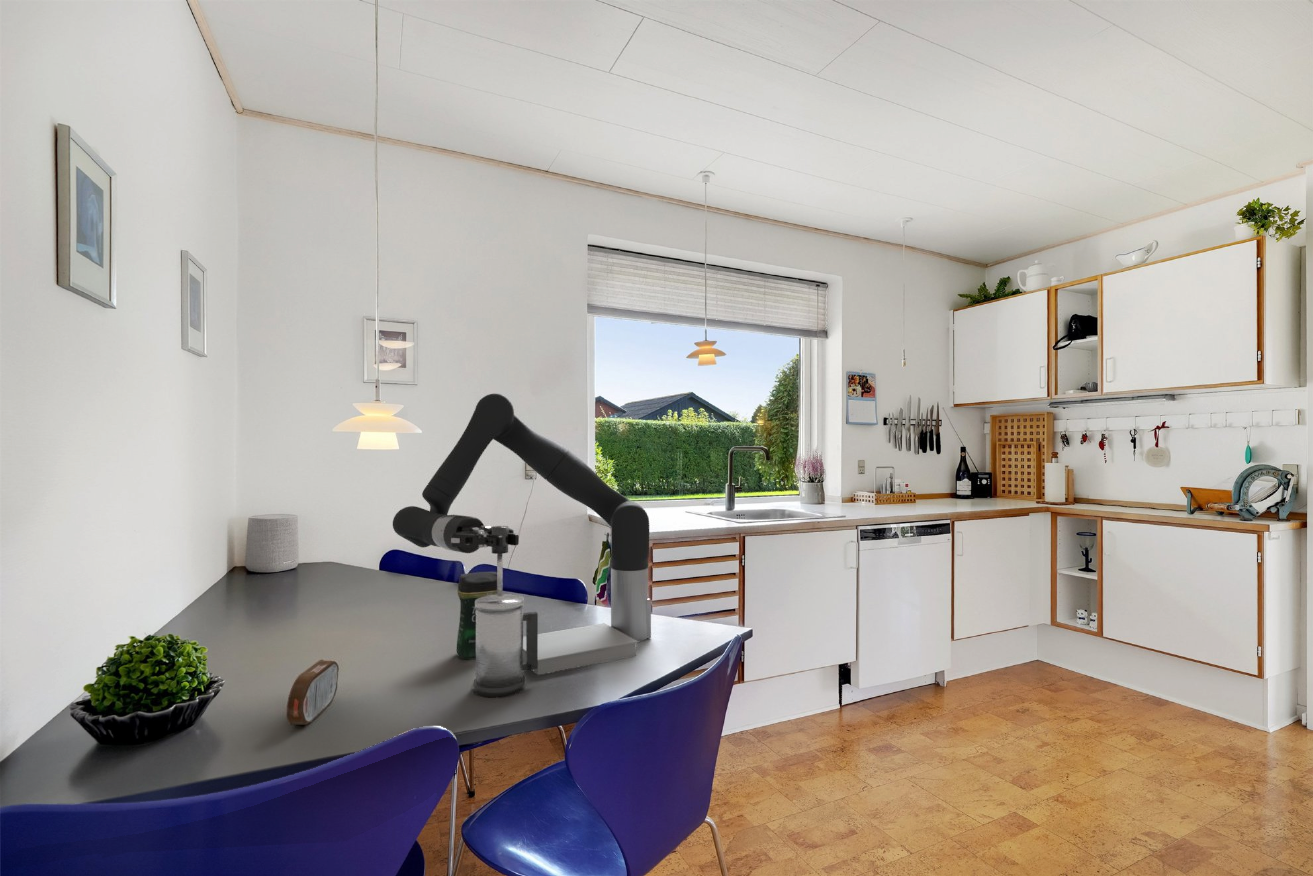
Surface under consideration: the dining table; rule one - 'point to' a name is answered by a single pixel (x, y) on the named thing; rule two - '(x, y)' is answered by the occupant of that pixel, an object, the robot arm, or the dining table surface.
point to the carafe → (503, 645)
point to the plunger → (500, 553)
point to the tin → (312, 692)
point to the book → (581, 647)
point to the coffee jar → (472, 608)
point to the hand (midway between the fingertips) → (509, 541)
